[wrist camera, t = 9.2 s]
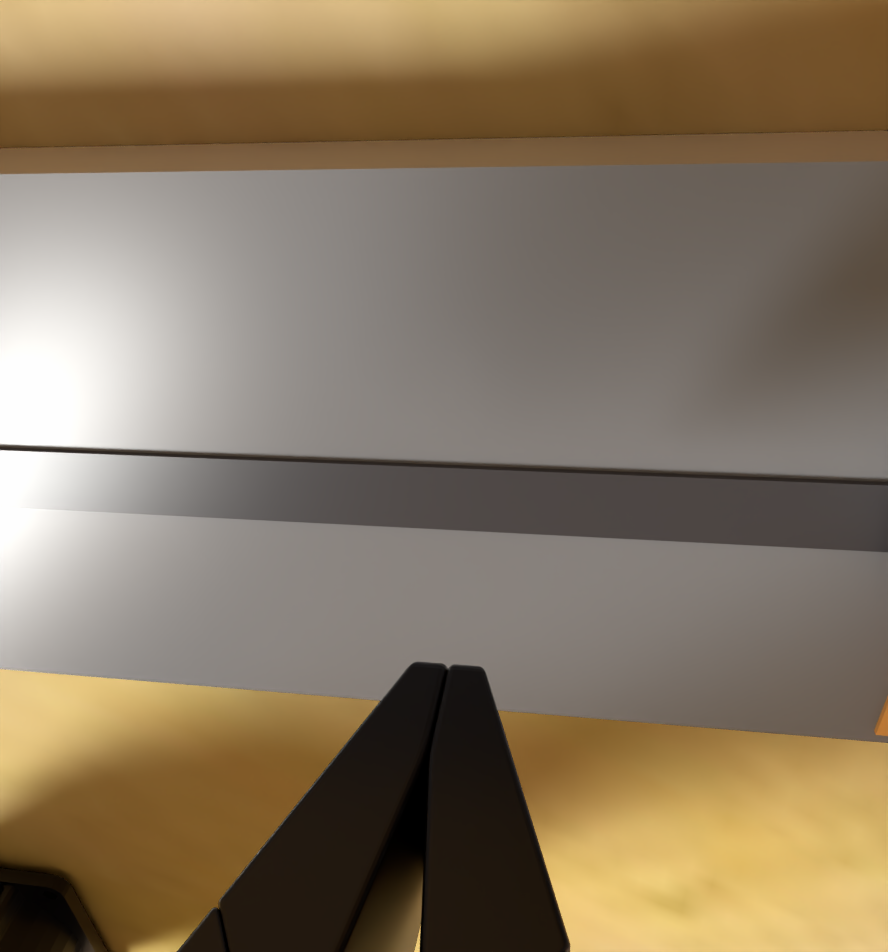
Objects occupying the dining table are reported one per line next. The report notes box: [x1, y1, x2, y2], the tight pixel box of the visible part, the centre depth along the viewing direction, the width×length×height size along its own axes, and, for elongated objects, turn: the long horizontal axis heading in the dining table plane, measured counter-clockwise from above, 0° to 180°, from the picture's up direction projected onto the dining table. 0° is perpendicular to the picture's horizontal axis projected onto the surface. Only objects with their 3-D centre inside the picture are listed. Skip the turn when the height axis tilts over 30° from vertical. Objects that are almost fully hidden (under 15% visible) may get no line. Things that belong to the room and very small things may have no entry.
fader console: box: [0, 130, 888, 743], centre depth 13 cm, size 10×26×3 cm, turn 92°
